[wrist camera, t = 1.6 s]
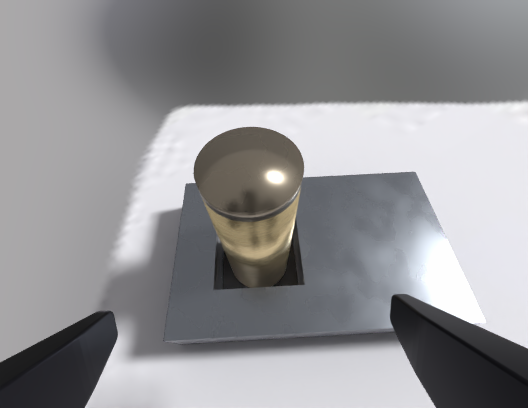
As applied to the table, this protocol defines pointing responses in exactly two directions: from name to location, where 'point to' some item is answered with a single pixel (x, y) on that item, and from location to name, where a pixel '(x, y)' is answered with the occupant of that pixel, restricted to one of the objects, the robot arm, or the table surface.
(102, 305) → the table surface
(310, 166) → the table surface
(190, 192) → the plate
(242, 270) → the gold metal can
